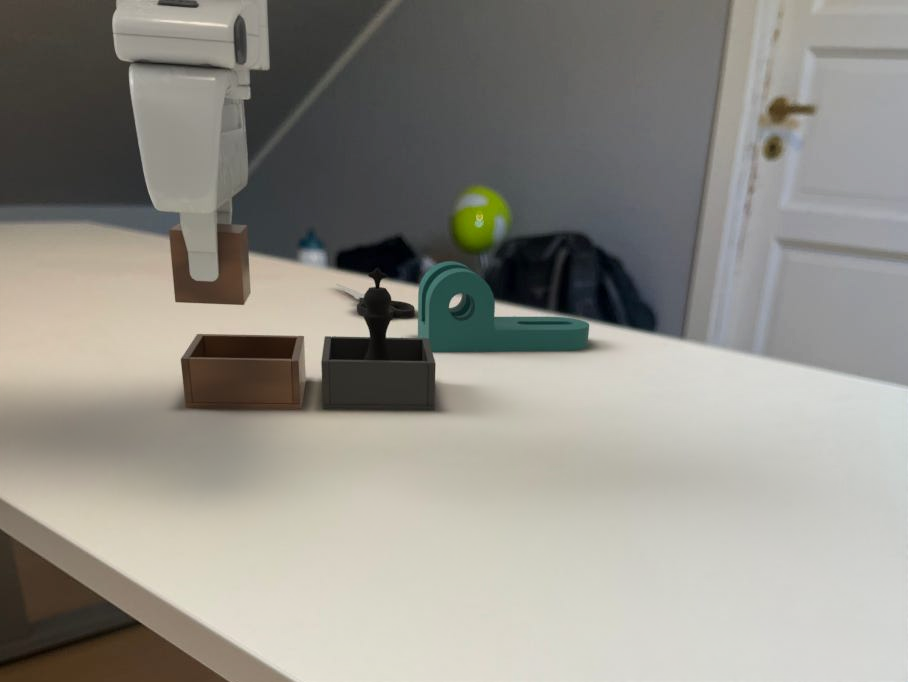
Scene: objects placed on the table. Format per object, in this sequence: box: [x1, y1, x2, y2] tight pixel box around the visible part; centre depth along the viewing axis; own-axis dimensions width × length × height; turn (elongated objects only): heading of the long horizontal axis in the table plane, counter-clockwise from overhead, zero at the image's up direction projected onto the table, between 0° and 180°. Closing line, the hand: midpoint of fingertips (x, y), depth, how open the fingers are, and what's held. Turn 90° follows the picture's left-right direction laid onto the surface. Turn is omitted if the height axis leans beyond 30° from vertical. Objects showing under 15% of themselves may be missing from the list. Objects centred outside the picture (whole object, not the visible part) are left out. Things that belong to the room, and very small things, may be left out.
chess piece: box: [363, 267, 393, 361], centre depth 82 cm, size 4×4×10 cm
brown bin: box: [180, 333, 307, 410], centre depth 82 cm, size 9×9×4 cm
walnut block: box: [168, 222, 252, 306], centre depth 66 cm, size 4×4×4 cm
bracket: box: [417, 260, 590, 353], centre depth 102 cm, size 18×7×8 cm, turn 102°
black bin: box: [320, 335, 436, 412], centre depth 83 cm, size 9×9×4 cm
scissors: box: [335, 283, 416, 319], centre depth 120 cm, size 7×1×20 cm
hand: (211, 272), depth 66 cm, fingers closed on walnut block, 4 cm apart
